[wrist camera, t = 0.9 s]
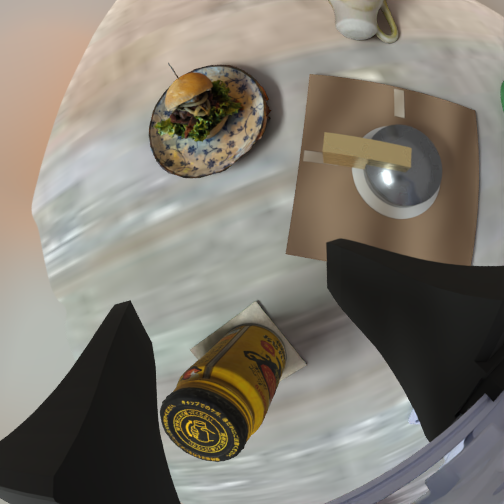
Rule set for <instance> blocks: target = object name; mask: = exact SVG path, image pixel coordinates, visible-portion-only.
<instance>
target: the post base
mask: <svg viewBox="0 0 504 504" xmlns="http://www.w3.org/2000/svg"><path fill="white" fill-rule="evenodd" d="M397 124H398V125H407V126H410V127H413V128H415V129H417V130H419V131H421V132H422V133H423V134H425V135H426V136H427V137H428V138H429V139H430V140H431V141H432V143H433V144H434V146H435V147H436V149H437V151H438V153H439V156H440V159H441V163H442V179H441V183H440V186H439V188H438V190H437V191H436V193H435V194H434V195H433V196H432V197H431V198H430V199H428V200H427V201H425V202H423V203H421V204H418V205H415V206H412V207H408V208H397V207H393V206H390V205H388V204H386V203H384V202H382V201H381V200H380V199H378V198H377V197H376V196H375V195H374V194H373V192H372V191H371V190H370V188H369V187H368V185H367V183H366V180H365V177H364V173H363V169H358V168H352V167H346V166H340V165H333V164H326V163H324V162H323V152H322V151H323V142H324V133H325V132H327V133H335V134H342V135H348V136H355V137H361V138H366V139H372V137H373V136H374V135H375V134H376V133H377V132H378V131H379V130H381V129H382V128H384V127H387V126H390V125H397ZM478 193H479V153H478V135H477V123H476V114H475V110H472V109H469V108H467V107H464V106H461V105H458V104H455V103H452V102H449V101H446V100H443V99H440V98H437V97H433V96H430V95H426V94H423V93H419V92H415V91H411V90H407V89H403V88H399V87H394V86H389V85H385V84H379V83H374V82H368V81H363V80H356V79H349V78H342V77H334V76H324V75H313V74H310V77H309V86H308V96H307V105H306V113H305V122H304V130H303V138H302V146H301V154H300V161H299V169H298V176H297V183H296V190H295V197H294V204H293V210H292V217H291V224H290V230H289V236H288V243H287V249H286V254H288V255H294V256H300V257H305V258H311V259H317V260H322V261H327V253H326V242H329V241H333V240H336V239H339V238H342V239H347V240H352V241H356V242H360V243H363V244H367V245H370V246H374V247H377V248H381V249H384V250H388V251H391V252H395V253H399V254H402V255H406V256H411V257H415V258H419V259H424V260H429V261H434V262H440V263H447V264H455V265H466V266H471V261H472V255H473V248H474V241H475V232H476V223H477V211H478Z"/></svg>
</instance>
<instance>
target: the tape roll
mask: <svg viewBox="0 0 504 504" xmlns="http://www.w3.org/2000/svg"><path fill="white" fill-rule="evenodd" d="M501 103H502V107H503V111H504V81H503V83H502V86H501Z"/></svg>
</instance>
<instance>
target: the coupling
mask: <svg viewBox="0 0 504 504" xmlns="http://www.w3.org/2000/svg"><path fill="white" fill-rule="evenodd" d="M322 152H323V162H324V163H326V164H333V165H340V166H346V167H352V168H358V169H363V173H364V177H365V180H366V183H367V185H368V187H369V188H370V190H371V191H372V192H373V194H374V195H375V196H376V197H377V198H378V199H380V200H381V201H382V202H384V203H386V204H388V205H390V206H393V207H397V208H408V207H412V206H415V205H418V204H421V203H423V202H425V201H427V200H428V199H430V198H431V197H432V196H433V195H434V194H435V193H436V191H437V190H438V188H439V186H440V183H441V179H442V163H441V159H440V156H439V153H438V151H437V149H436V147H435V146H434V144H433V143H432V141H431V140H430V139H429V138H428V137H427V136H426V135H425V134H423V133H422V132H421V131H419V130H417V129H415V128H413V127H410V126H407V125H398V124H397V125H390V126H387V127H384V128H382V129H381V130H379V131H378V132H377V133H376V134H375V135H374V136H373V137H372V139H366V138H361V137H355V136H348V135H342V134H335V133H327V132H325V133H324V142H323V151H322Z"/></svg>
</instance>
